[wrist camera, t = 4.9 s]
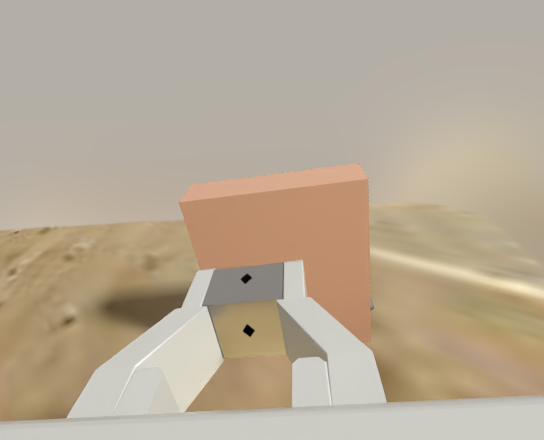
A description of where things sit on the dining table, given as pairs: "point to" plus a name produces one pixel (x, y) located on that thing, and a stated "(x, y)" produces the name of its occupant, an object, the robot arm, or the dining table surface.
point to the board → (292, 232)
